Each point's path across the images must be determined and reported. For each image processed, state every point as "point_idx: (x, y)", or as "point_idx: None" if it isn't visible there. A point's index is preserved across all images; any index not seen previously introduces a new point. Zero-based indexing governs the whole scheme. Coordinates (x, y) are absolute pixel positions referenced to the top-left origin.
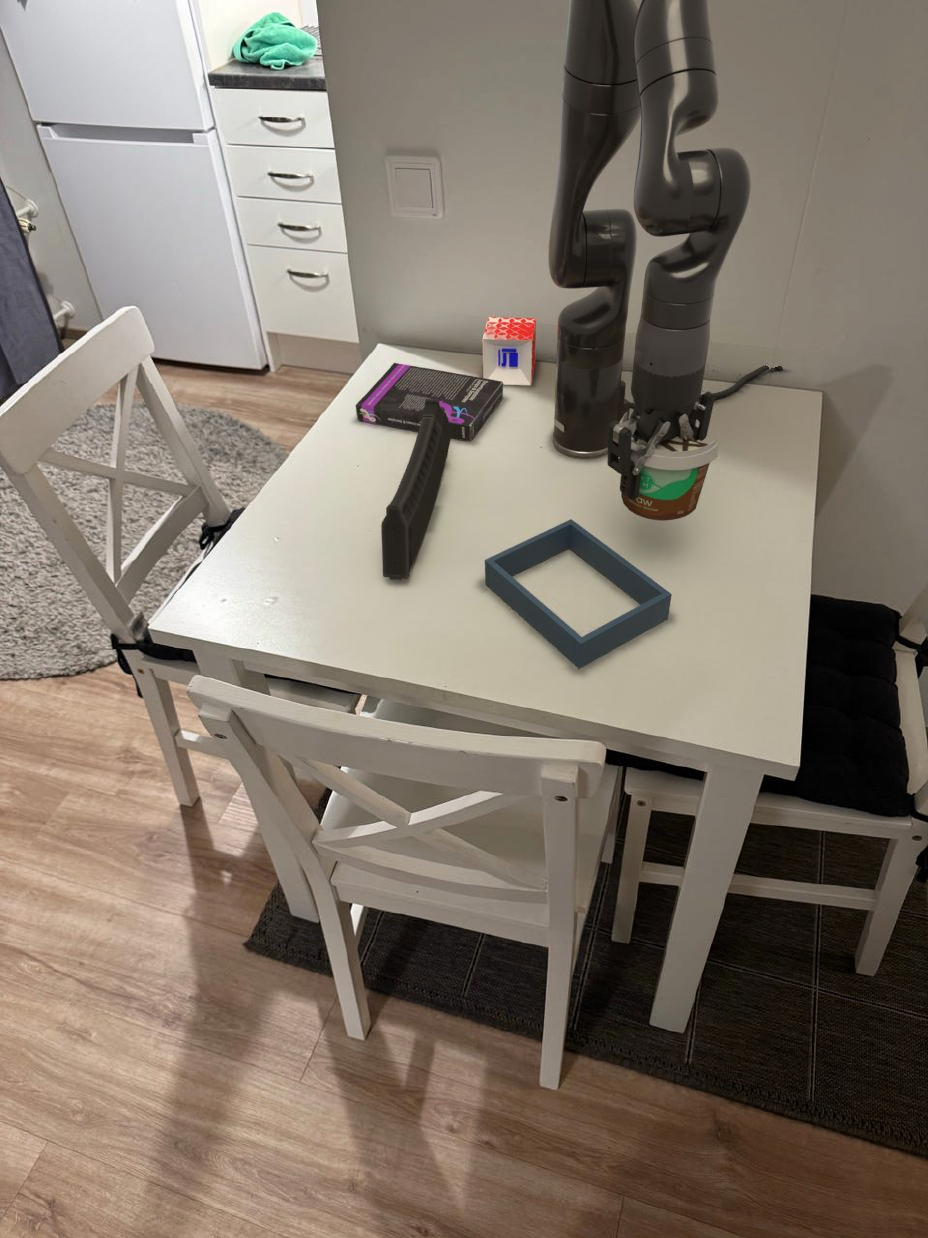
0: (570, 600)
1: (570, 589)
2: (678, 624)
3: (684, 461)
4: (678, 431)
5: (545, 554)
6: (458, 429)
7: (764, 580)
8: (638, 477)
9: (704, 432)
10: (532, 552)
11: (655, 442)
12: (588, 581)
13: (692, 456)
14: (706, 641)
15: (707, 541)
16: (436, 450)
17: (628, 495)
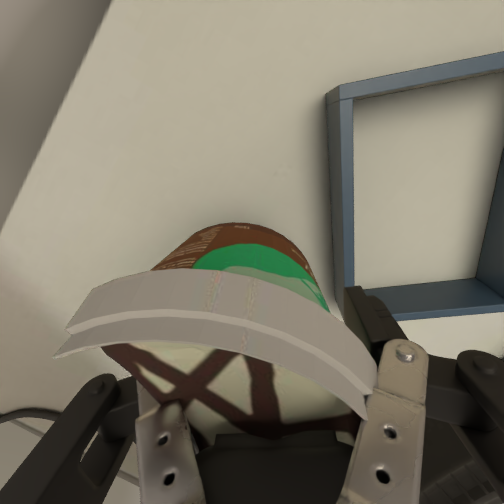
0: (416, 206)
1: (398, 225)
2: (318, 73)
3: (261, 308)
4: (202, 462)
5: (388, 292)
6: None
7: (133, 102)
8: (377, 330)
9: (84, 401)
10: (420, 299)
11: (386, 466)
12: (366, 228)
13: (219, 314)
14: (306, 2)
15: (169, 221)
16: (426, 486)
17: (378, 298)
